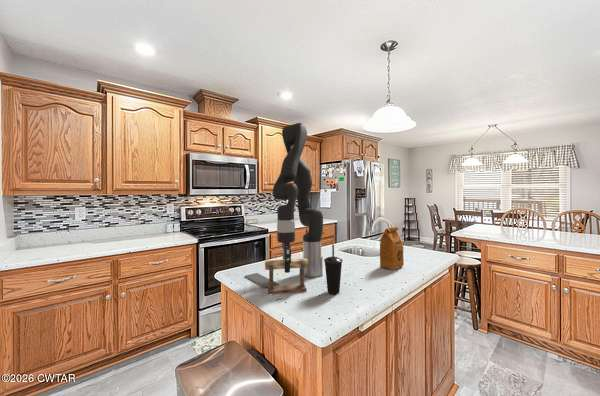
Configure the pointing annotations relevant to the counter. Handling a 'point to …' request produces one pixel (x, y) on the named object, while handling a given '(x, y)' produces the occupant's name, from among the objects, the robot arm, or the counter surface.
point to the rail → (280, 264)
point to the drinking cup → (333, 273)
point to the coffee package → (391, 249)
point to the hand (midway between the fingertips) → (286, 269)
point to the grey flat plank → (260, 280)
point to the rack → (286, 288)
